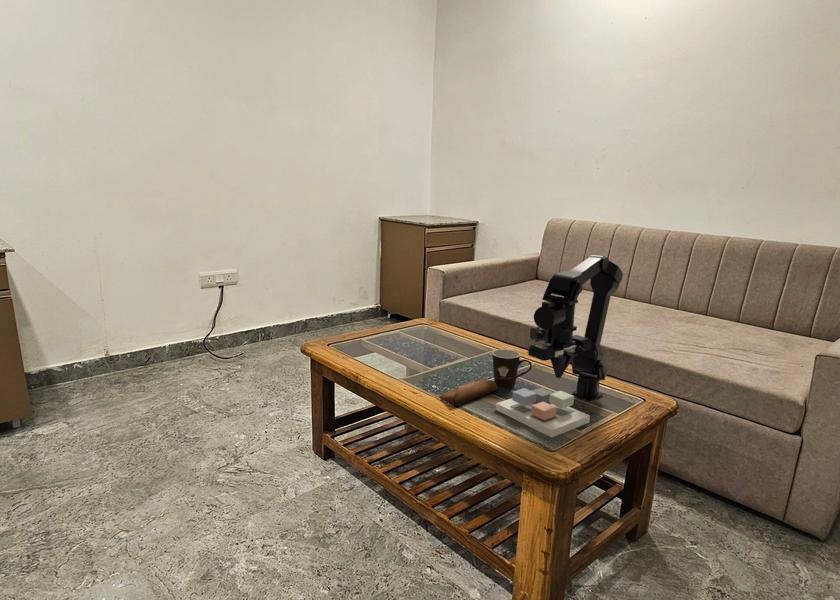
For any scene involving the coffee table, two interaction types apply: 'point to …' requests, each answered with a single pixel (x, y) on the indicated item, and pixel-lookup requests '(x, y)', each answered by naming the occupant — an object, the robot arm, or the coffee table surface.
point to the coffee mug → (507, 367)
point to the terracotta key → (543, 410)
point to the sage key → (561, 399)
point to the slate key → (524, 396)
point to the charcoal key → (542, 395)
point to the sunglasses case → (468, 392)
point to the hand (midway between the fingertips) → (558, 377)
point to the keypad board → (550, 427)
